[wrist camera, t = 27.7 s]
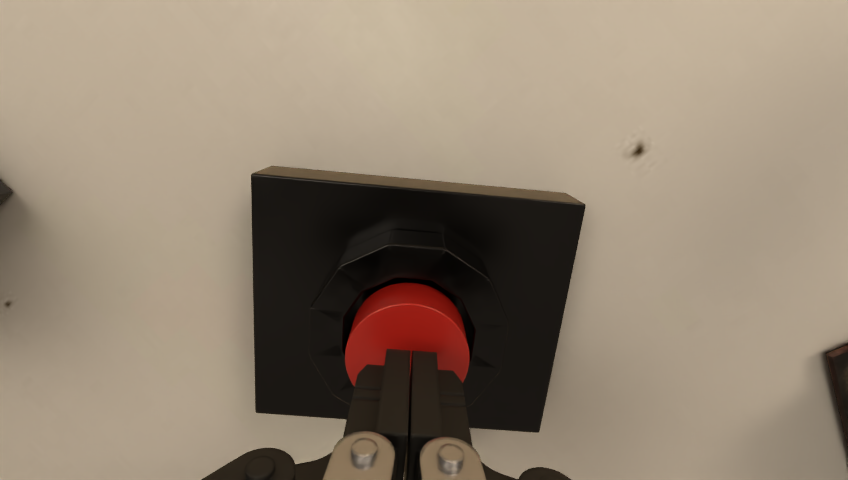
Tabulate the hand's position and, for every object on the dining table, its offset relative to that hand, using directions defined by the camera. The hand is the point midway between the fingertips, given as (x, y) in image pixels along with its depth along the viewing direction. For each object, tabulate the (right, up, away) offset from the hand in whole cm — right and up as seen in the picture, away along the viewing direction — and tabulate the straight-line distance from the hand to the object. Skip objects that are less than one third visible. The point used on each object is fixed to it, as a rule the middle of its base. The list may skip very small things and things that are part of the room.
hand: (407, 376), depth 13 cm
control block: (0, +2, +6) cm, 6 cm away
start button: (0, +1, +3) cm, 3 cm away
